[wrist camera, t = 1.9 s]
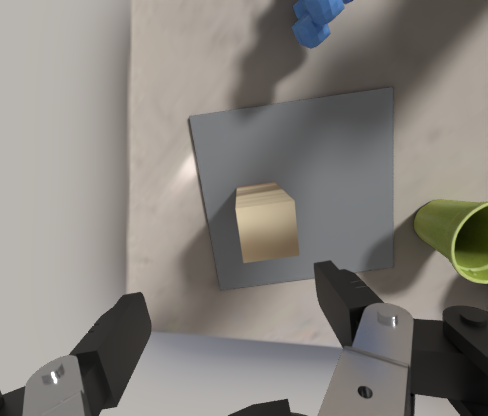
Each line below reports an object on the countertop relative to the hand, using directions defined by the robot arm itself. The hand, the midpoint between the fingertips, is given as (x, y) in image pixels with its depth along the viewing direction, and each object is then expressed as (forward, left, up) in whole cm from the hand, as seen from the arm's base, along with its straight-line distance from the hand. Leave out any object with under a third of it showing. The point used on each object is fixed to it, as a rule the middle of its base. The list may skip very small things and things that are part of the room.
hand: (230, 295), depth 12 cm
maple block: (+1, +3, -22) cm, 22 cm away
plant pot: (+7, +27, -23) cm, 36 cm away
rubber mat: (+1, +8, -23) cm, 24 cm away
